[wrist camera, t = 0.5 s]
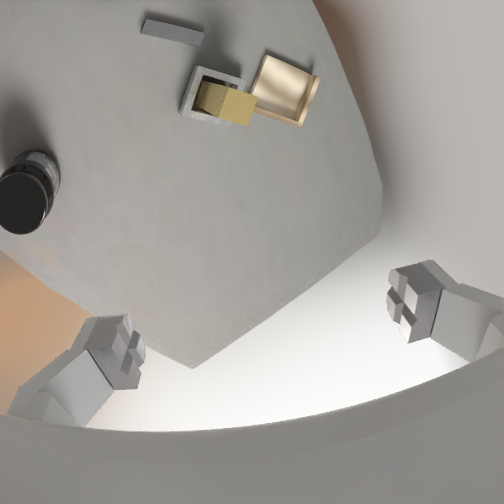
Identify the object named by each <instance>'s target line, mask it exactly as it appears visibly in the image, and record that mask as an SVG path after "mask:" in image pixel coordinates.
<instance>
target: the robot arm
mask: <svg viewBox="0 0 504 504" xmlns="http://www.w3.org/2000/svg"><path fill="white" fill-rule="evenodd" d="M388 281H389V283H390V284H391V286H392V287H391V288H390V290H389V291H388V293H387V301H386V302H387V309H388V312H389V315H390V316H391V318H392V320H393V321H395V322H397V323H399V324H400V327H399V331H400V332H401V334H402V335H403V337H404V338H405V340H406V341H407V343H411V342H415V341H418V340H421V339H425V338H428V337H430V338H431V339H433V340H434V341H436V342H438V343H439V344H441V345H442V346H444V347H446V348H447V349H449V350H451V351H452V352H454V353H456V354H457V355H459V356H461V357H462V358H464V359H465V360H467V361H469V362H470V364H467V365H465V366H463V367H461V368H459V369H456V370H454V371H452V372H449V373H447V374H445V375H442V376H440V377H438V378H435V379H432V380H430V381H428V382H425V383H422V384H420V385H417V386H414V387H411V388H409V389H406V390H403V391H400V392H397V393H394V394H391V395H388V396H385V397H382V398H378V399H375V400H372V401H368V402H365V403H361V404H358V405H354V406H350V407H346V408H343V409H338V410H335V411H330V412H326V413H321V414H317V415H312V416H308V417H302V418H297V419H291V420H286V421H280V422H273V423H267V424H260V425H252V426H244V427H235V428H224V429H213V430H197V431H161V432H160V431H159V432H158V431H155V432H152V431H150V432H149V431H121V430H104V429H94V428H84V427H85V426H86V425H87V423H88V422H89V421H90V420H91V419H92V417H93V416H94V415H95V414H96V413H97V411H98V410H99V409H100V408H101V406H102V405H103V404H104V403H105V402H106V400H107V399H108V398H109V397H110V396H111V395H112V393H113V392H114V390H125V389H137V388H138V384H139V380H140V376H141V372H140V370H139V368H138V367H140V366H141V365H142V364H143V363H144V359H145V345H144V342H143V339H142V337H141V335H140V334H139V333H137V332H136V331H135V330H134V327H135V322H134V320H133V319H132V317H131V316H130V315H129V314H121V315H110V316H102V317H100V316H99V317H91V318H88V319H86V321H85V323H84V324H83V326H82V328H81V330H80V332H79V334H78V336H77V338H76V339H75V341H74V343H73V345H72V347H71V349H70V350H66V351H65V352H63V353H62V354H61V355H60V356H58V357H57V358H56V359H55V360H54V361H52V362H51V363H49V364H48V365H47V366H46V367H45V368H43V369H42V370H41V371H40V372H38V373H37V374H36V375H34V376H33V377H32V378H31V379H29V380H28V381H27V382H26V383H24V384H23V385H22V386H21V387H20V388H19V389H18V391H17V393H16V395H15V397H14V399H13V401H12V403H11V405H10V408H9V410H8V412H7V414H5V413H1V412H0V504H504V298H502V297H499V296H496V295H494V294H491V293H488V292H485V291H482V290H480V289H477V288H474V287H471V286H468V285H465V284H458V283H457V282H455V280H454V279H453V278H452V277H451V276H449V275H448V274H447V273H446V272H445V271H444V270H443V269H442V268H441V267H440V266H439V265H438V264H437V263H436V262H435V261H433V260H427V261H423V262H419V263H417V264H413V265H409V266H405V267H400V268H396V269H393V270H391V271H390V273H389V280H388Z"/></svg>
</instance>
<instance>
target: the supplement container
mask: <svg viewBox="0 0 504 504" xmlns="http://www.w3.org/2000/svg"><path fill="white" fill-rule="evenodd" d="M60 179H61V177H60V170H59V167H58V164H57V162H56V161H55V159H54V158H53V157H52V156H51V155H49V154H48V153H46V152H44V151H41V150H29V151H26V152H24V153H22V154H21V155H19V156H18V157H17V158H16V159H15V160H14V162H13V163H12V164H11V165H10V167H9V168H7V169H6V170H5V171H4V172H3V174H2V175H1V177H0V225H1V226H2V227H3V228H4V229H5V230H7V231H9V232H11V233H14V234H19V235H23V234H28V233H31V232H33V231H35V230H36V229H37V228H38V227H39V226H40V225H41V224H42V222H43V221H44V219H45V218H46V217H47V215H48V214H49V212H50V210H51V208H52V205H53V202H54V198H55V195H56V193H57V191H58V189H59V186H60Z"/></svg>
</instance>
